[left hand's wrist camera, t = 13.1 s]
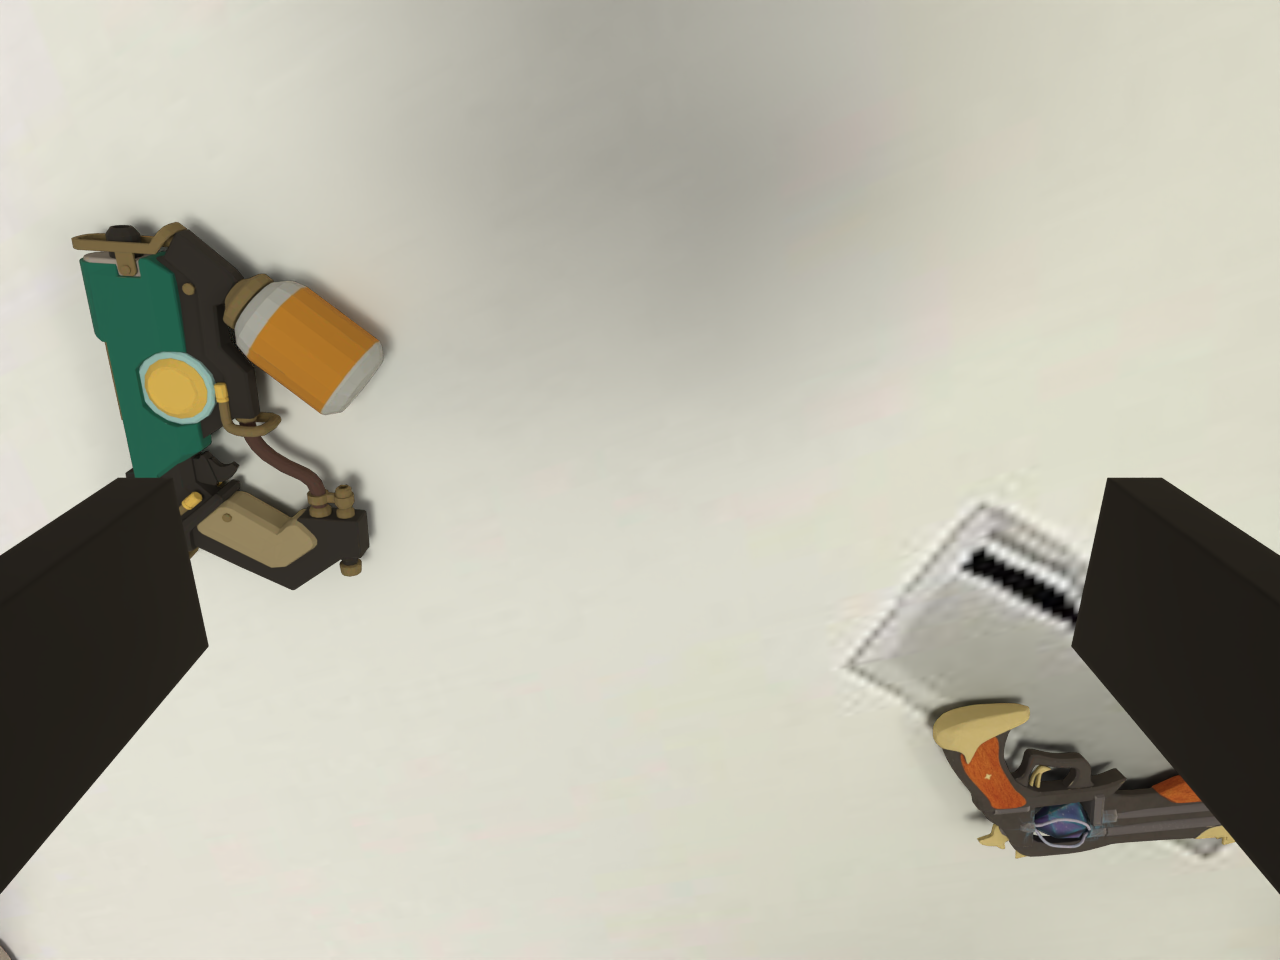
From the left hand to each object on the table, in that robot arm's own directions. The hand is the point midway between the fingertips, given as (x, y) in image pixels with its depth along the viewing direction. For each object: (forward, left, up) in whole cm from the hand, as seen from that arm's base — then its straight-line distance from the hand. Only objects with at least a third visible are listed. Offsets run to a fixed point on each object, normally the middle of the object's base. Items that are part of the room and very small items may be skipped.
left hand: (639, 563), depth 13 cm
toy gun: (+12, +37, -30) cm, 49 cm away
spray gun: (+16, -13, -30) cm, 36 cm away
